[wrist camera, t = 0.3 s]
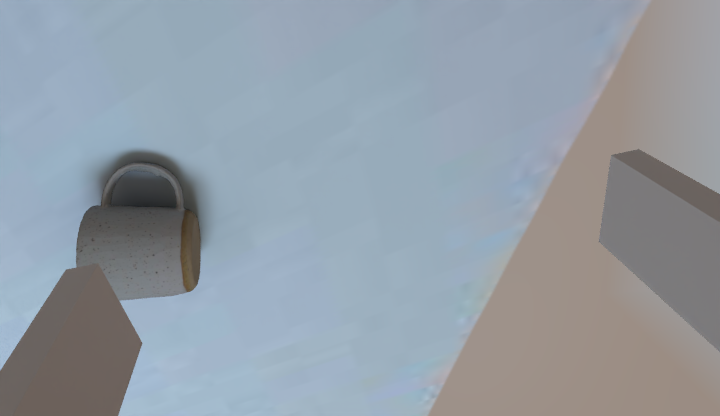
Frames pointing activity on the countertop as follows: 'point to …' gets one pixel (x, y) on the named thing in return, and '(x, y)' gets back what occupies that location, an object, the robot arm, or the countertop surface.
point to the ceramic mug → (142, 242)
